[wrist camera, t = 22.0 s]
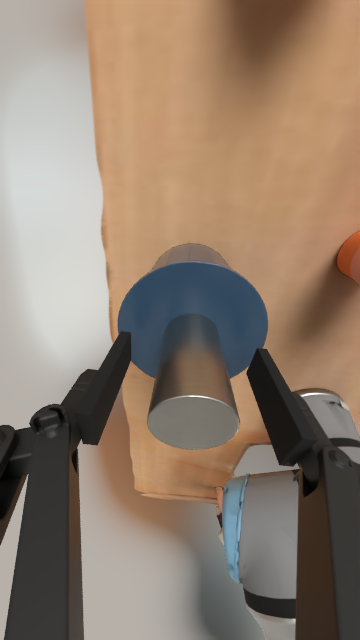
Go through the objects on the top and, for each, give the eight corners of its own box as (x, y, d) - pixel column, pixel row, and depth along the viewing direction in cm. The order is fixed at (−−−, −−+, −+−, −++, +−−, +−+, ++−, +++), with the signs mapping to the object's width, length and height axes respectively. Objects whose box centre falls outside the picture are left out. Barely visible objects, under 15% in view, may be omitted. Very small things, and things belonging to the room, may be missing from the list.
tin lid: (239, 384, 21) (270, 489, 13) (123, 371, 21) (83, 469, 13) (287, 270, 14) (411, 341, 6) (118, 246, 14) (25, 292, 6)
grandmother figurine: (229, 491, 65) (238, 547, 54) (220, 493, 67) (226, 548, 56) (218, 483, 62) (224, 541, 51) (208, 485, 64) (212, 542, 53)
